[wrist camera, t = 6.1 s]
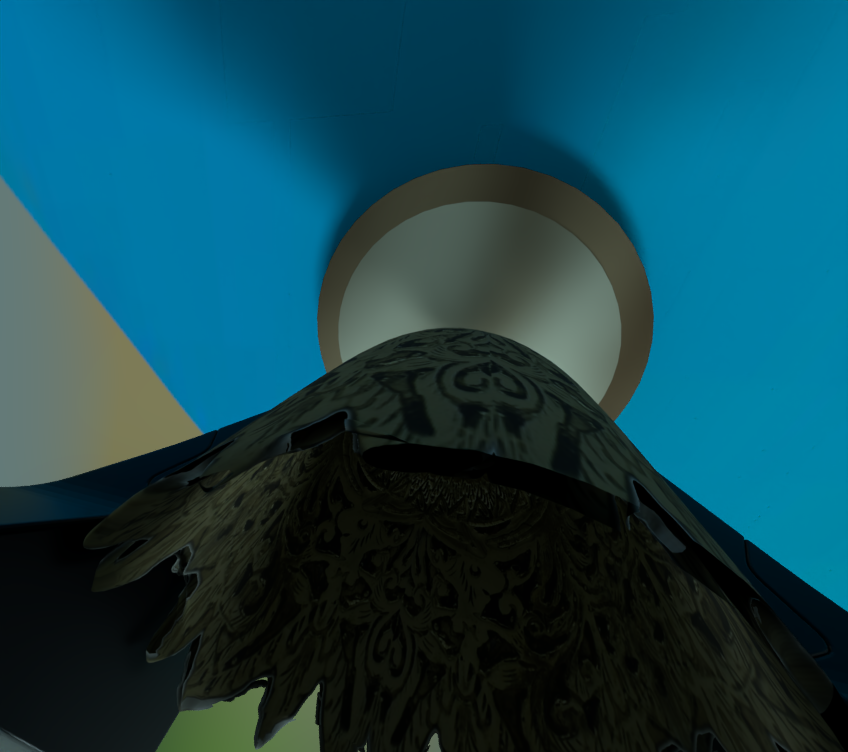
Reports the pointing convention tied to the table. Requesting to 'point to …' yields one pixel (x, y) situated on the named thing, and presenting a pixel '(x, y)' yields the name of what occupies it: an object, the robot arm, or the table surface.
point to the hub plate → (494, 275)
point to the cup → (462, 572)
